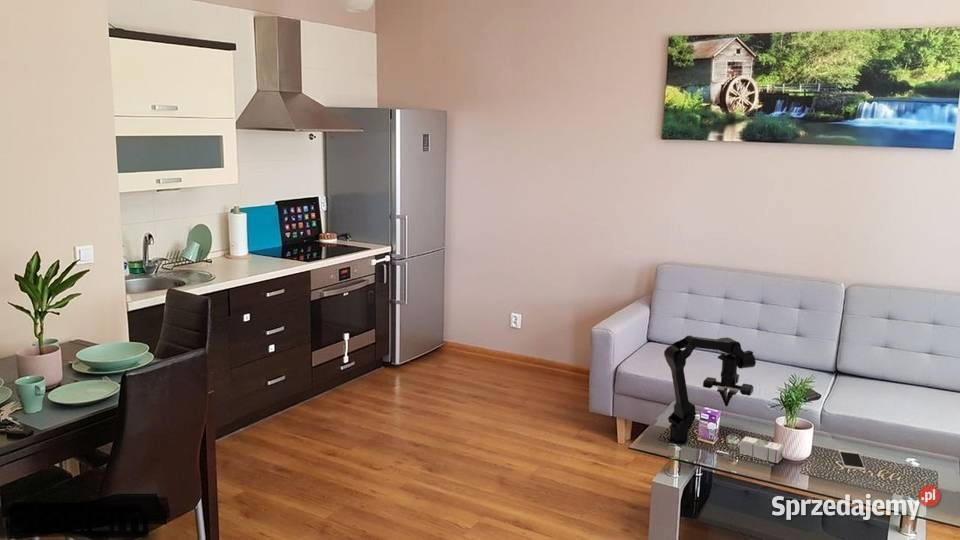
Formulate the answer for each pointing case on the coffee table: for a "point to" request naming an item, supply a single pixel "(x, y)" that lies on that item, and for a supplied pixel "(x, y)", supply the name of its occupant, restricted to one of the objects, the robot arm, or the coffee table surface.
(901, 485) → the coffee table surface
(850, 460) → the smartphone
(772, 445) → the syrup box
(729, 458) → the traps
